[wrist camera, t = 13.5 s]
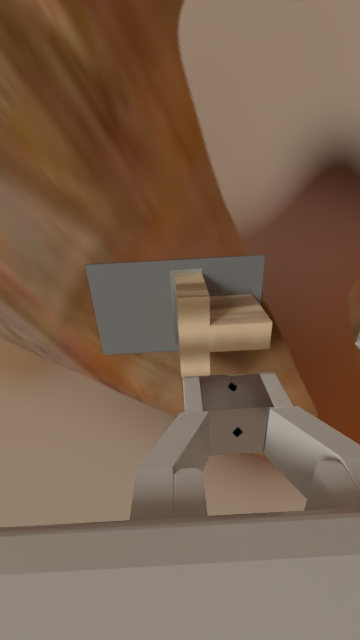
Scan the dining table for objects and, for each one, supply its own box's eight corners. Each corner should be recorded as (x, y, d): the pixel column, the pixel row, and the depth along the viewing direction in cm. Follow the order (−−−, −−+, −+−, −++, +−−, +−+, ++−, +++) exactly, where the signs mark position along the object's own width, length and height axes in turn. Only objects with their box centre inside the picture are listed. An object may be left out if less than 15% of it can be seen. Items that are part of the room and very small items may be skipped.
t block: (175, 273, 42) (176, 298, 33) (253, 269, 42) (275, 292, 33) (179, 341, 48) (181, 377, 39) (248, 337, 48) (266, 373, 39)
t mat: (85, 264, 42) (85, 265, 41) (264, 254, 42) (265, 255, 41) (103, 354, 49) (103, 354, 48) (256, 345, 49) (257, 346, 49)
